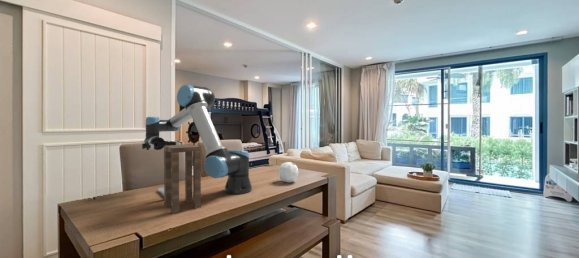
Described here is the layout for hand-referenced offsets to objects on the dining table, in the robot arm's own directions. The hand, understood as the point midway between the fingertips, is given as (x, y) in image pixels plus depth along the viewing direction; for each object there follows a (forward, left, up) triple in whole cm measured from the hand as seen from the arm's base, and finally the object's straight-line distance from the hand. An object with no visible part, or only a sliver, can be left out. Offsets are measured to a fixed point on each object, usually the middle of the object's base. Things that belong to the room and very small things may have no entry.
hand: (167, 146), depth 132 cm
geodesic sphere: (-59, -40, -26) cm, 76 cm away
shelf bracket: (+1, 0, -26) cm, 26 cm away
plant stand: (-18, +15, -26) cm, 35 cm away
